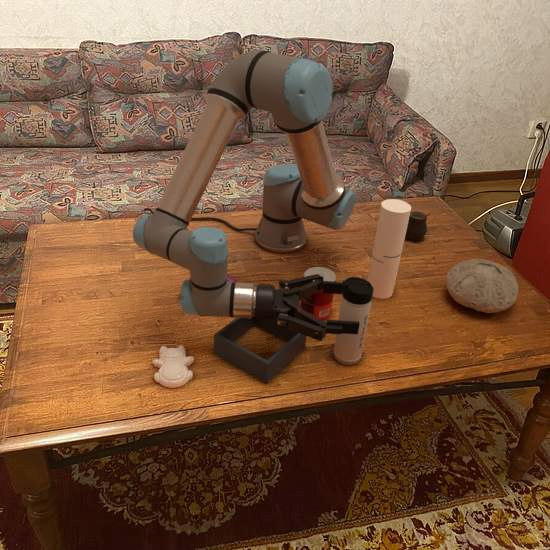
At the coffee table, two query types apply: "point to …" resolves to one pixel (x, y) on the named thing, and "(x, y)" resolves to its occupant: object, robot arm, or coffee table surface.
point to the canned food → (319, 295)
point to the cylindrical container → (388, 246)
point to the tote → (249, 360)
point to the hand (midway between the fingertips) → (355, 307)
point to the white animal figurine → (173, 367)
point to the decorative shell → (482, 285)
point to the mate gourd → (416, 225)
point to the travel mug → (353, 319)
